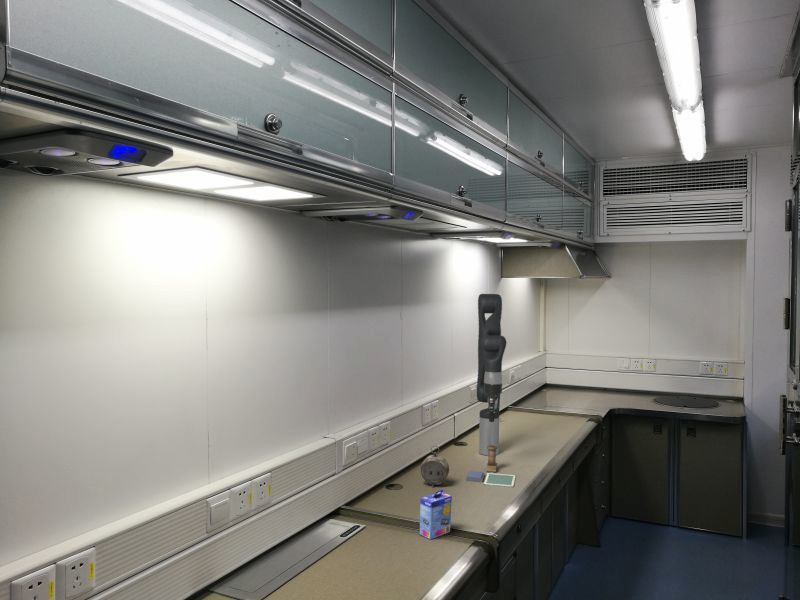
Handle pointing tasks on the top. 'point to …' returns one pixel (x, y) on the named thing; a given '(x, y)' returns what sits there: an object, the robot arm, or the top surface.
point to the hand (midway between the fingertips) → (492, 419)
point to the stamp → (491, 459)
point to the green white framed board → (499, 480)
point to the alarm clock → (434, 469)
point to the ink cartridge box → (435, 514)
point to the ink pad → (475, 476)
